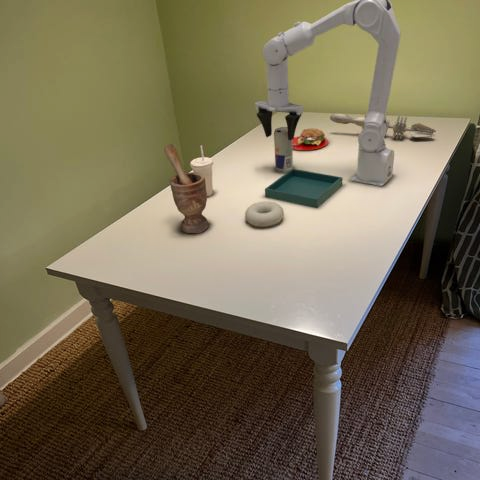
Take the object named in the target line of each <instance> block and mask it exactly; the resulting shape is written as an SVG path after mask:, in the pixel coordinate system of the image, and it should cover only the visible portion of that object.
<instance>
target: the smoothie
mask: <svg viewBox="0 0 480 480" xmlns="http://www.w3.org/2000/svg"><path fill="white" fill-rule="evenodd" d="M199 147H200V154H201V157H197V158H194V159H192V160H191V161H190V168H191V169H192V172H195V173H201V174H203V175H204V177H205V184H206V192H207V197H210V196H212V195H213V193H214V191H213V189H214V188H213V187H214V186H213V166H214V160H213V159H212V158H211V157H207V156H206V157H205V156H204V155H205V154H204V149H203V145H199Z"/></svg>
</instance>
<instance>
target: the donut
mask: <svg viewBox="0 0 480 480" xmlns="http://www.w3.org/2000/svg"><path fill="white" fill-rule="evenodd" d="M284 216H285V213H284V208H283V207H282V206H281V205H280V204H279V203H277V202H274V201H267V200H265V201H258V202H254V203H252V204H251V205H249V206H248V207H247V209H246V210H245V212H244V217H245V220H246V222H247V223H249V224H250V225H252V226H254V227H259V228H260V227H261V228H265V227H272V226H274V225H277V224H279V223H280V222H281V221H282V220H283V217H284Z"/></svg>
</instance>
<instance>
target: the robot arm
mask: <svg viewBox="0 0 480 480" xmlns="http://www.w3.org/2000/svg"><path fill="white" fill-rule="evenodd" d="M396 17H397V16H396V14H395V12H394V8H393V3H392V2H391V1H390V0H353V1H350V2H348V3H346V4H344V5H342V6H340V7H338V8H337V9H335V10H333V11H331V12H330V13H328V14H326V15H325V16H322V17H321V18H320V19H318V20H316V21H314V22H313V23H310V22H308V21H302V22H301V20H299V21H296V22H295V23H294V24H293V27H292V28H289V29H287V30H286V31H280V32H278V33H277V36H274V37H273V38H271V39H269V40H268V41H267V42H266V43H265V44H264V46H263V48H262V56H263V57H262V58H263V60H264V61H265V63H266V85H267V88H266V89H267V101H261V100H260V101H257V102H255V103H254V106H255V107H254V109H255V111H258V112H257V113H256V117H257V119H258V120H259V122H260V123H261V126H262V128H263V132H264V135H265V137H266V138H269V137H271V136H272V133H273V132H272V131H273V127H272V126H273V125H272V121H273V120H272V119H273V112H276V113H285V114H287V115H285V116H284V119H285V122H286V127H287V128H288V140H292V139H293V138H295V135H296V130H297V127H298V124H299V121H300V118H301V117H302V115H303V113H304V105H300V104H296V103H293V102H290V101H289V100H290V97H289V95H290V94H289V93H290V92H289V67H288V66H289V65H288V63H289V62H288V57H293V56H295V55H296V54H299V53H300V52H302V51H304V50H306V49H307V48H310V47H312V46H313V45H314V43H315V40H316V38H317V37H319V36H321V35H324V34H325V33H328V32H329V31H331V30H334V29H335V28H338V27H339V26H342V25H346V26H350V27H354V26H355V25H356V26H357V27H358V28H359V29H361V30H362V31H364V32H366V33H368V34H369V35H370V36H371V37H372V38H373V39H374V41H376V43H377V44H378V47H377V54H376V59H375V66H374V70H373V71H374V72H373V75H372V76H373V77H372V83H371V89H370V96H369V101H368V108H367V113H366V115H367V116H366V119H365V123H364V128H363V130H362V129H361V131H360V133H359V135H358V137H357V142H358V151H357V164H356V165H357V167H356V174H355V175H354V176H352V178H351V179H350V181H351V182H357V183H362V184H368V185H374V186H380V187H383V186H385V184H386V183H388V181H389V180H390V179H391V178H392V177H393V176H394V174H393V170H394V163H395V151H394V149H391V148H388V147H387V144H386V141H385V140H384V138H385V137H386V135H387V133H388V130H389V128H388V126H387V123H386V122H387V115H388V112H387V109H388V104H389V100H390V94H391V90H392V83H393V78H394V72H395V67H396V63H397V56H398V52H399V46H400V42H401V36H402V35H401V33H402V31H401V29H400V25H399V23H398V20H397V18H396Z"/></svg>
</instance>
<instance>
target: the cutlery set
mask: <svg viewBox="0 0 480 480" xmlns="http://www.w3.org/2000/svg"><path fill="white" fill-rule="evenodd" d="M366 116H367V114H365V115H364V117H363V116H361V117H351V116H350V115H348V114H344V113H333V114H331V115H330V116H329V119H330V121H331V122H333V123H336V124H340V125H341V124H342V125H348V124H354V125H356V126H358V127H360V128H361V131H362V130H363V128H364V123H365V119H366ZM407 120H408V117H407V116H405V117H404V116H400V115H398V116H397V118H396V122H395V123H394V124H390V122H391V121H390V120H387V119H386V123H387V126H388V129H392V132H393V133H392V139H396V140H398V139H399V140H402V139H403V135H404V133H406V132H409V135H410V136H412V137H413V138H415V139H417V138H418V139H420V138H421V139H422V138H432V137H435V136H436V135H435V134H434V133H436V132H437V130H435V129H434V128H432V127H429V126H428V125H424V124H422V123H420V122H418V123H415V124H411V127H409V126H408V125H407Z"/></svg>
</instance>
